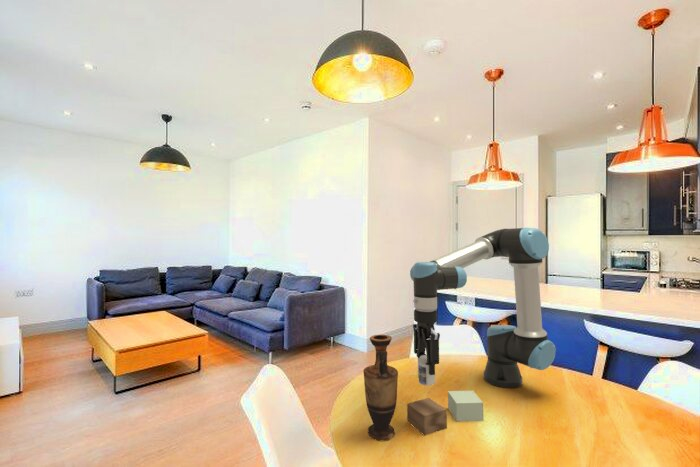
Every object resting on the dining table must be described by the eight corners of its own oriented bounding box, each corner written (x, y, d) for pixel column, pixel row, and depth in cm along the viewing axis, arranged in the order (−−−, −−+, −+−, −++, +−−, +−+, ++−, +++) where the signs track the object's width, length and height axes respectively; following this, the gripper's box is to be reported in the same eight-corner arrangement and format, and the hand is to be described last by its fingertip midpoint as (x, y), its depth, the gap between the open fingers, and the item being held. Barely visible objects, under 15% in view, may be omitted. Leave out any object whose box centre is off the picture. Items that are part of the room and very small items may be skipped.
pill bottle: (416, 383, 112) (415, 357, 112) (423, 378, 115) (423, 353, 115) (429, 387, 108) (428, 360, 109) (436, 382, 112) (436, 356, 112)
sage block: (472, 407, 123) (472, 390, 123) (483, 420, 114) (483, 402, 114) (448, 408, 122) (447, 391, 123) (456, 421, 113) (456, 403, 114)
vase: (363, 423, 113) (363, 332, 113) (396, 424, 112) (395, 332, 113) (364, 443, 102) (363, 342, 102) (400, 444, 101) (399, 342, 102)
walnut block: (428, 415, 118) (428, 397, 118) (447, 428, 110) (446, 409, 110) (407, 421, 114) (407, 403, 114) (424, 435, 106) (424, 416, 106)
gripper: (403, 304, 120) (403, 371, 119) (429, 315, 102) (430, 394, 102) (422, 303, 122) (423, 369, 121) (450, 314, 105) (451, 390, 104)
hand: (426, 380), depth 112 cm, fingers closed on pill bottle, 5 cm apart
